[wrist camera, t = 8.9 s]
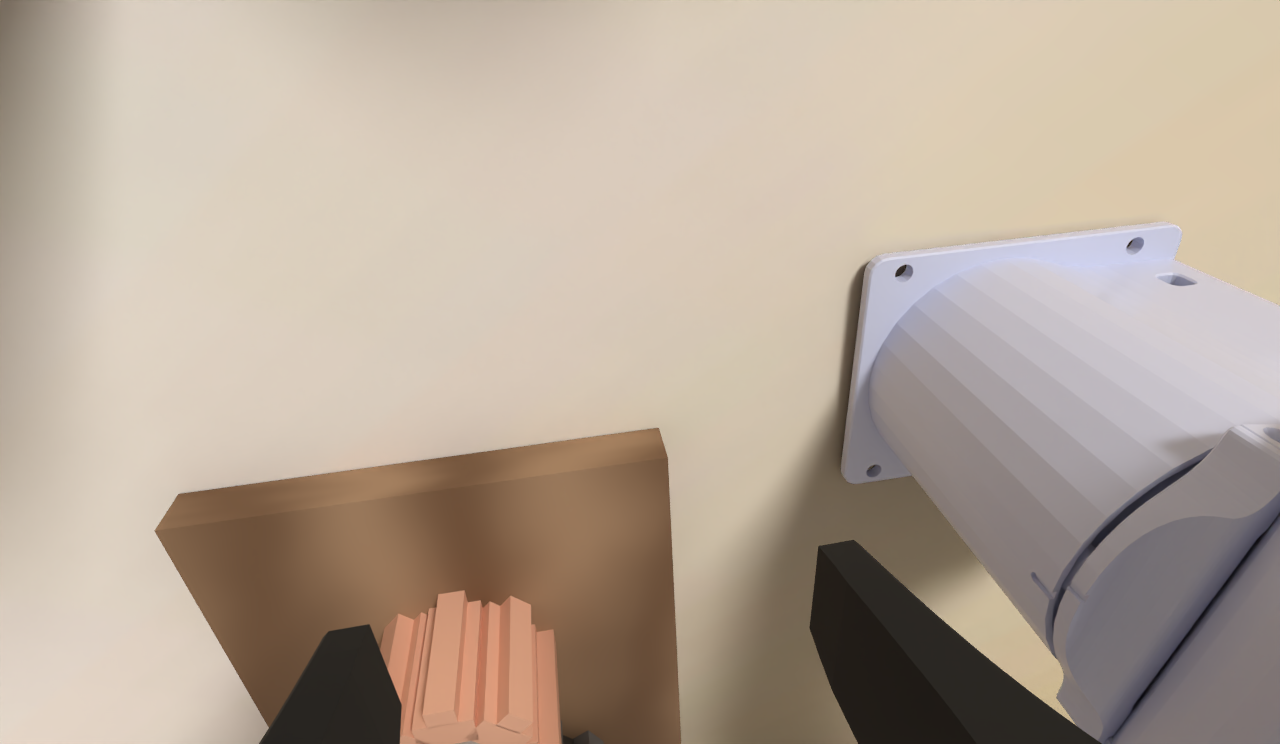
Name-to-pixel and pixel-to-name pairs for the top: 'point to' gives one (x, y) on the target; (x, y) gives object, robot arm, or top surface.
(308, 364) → the top surface
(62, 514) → the top surface
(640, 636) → the board
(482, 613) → the terracotta gear
